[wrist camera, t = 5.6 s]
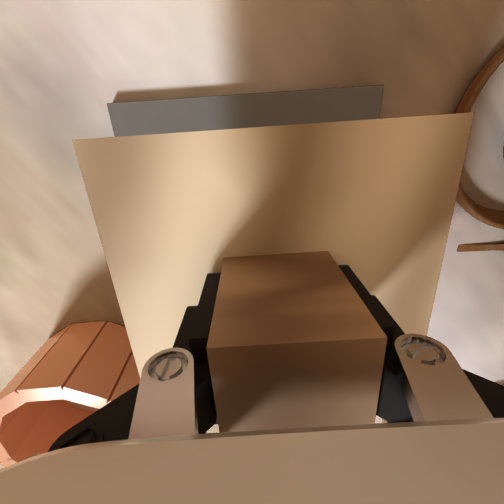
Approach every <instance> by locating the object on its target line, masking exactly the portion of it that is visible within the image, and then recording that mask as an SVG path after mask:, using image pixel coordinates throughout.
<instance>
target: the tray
mask: <svg viewBox="0 0 504 504" xmlns="http://www.w3.org/2000/svg"><path fill="white" fill-rule="evenodd" d="M382 92H383V85H372V86H358V87H343V88H328V89H313V90H298V91H283V92H269V93H254V94H239V95H224V96H209V97H195V98H180V99H165V100H150V101H135V102H120V103H107V106H108V110H109V115H110V119H111V123H112V127H113V131H114V135H115V137H122V136H136V135H151V134H165V133H180V132H194V131H209V130H224V129H238V128H253V127H267V126H282V125H296V124H311V123H325V122H340V121H354V120H369V119H380V110H381V101H382Z"/></svg>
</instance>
